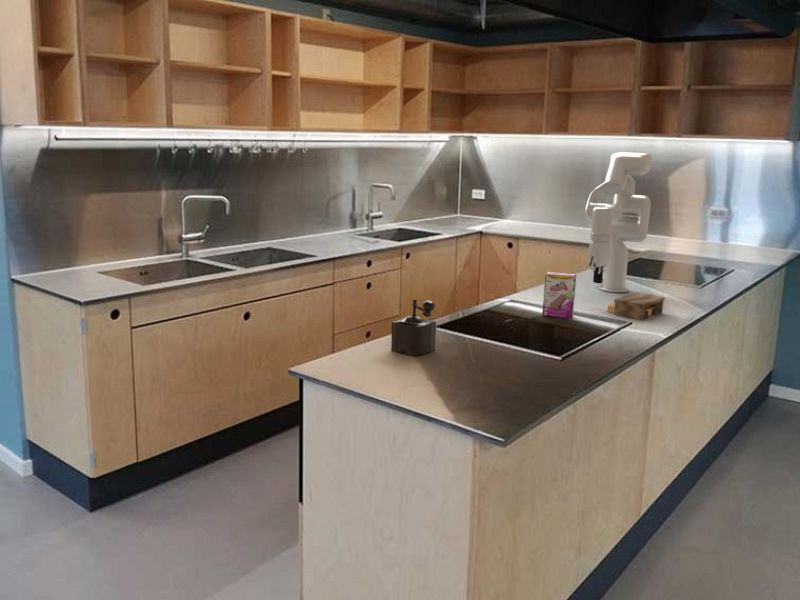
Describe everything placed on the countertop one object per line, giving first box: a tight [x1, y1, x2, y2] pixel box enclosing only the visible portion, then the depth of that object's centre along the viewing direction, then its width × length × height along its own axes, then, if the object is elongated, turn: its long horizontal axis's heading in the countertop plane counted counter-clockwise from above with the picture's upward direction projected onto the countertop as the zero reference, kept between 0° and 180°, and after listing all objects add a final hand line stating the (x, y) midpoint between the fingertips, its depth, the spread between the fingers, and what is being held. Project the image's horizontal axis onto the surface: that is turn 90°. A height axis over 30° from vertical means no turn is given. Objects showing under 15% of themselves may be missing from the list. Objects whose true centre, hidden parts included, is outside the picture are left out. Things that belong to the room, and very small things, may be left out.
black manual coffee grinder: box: [390, 298, 437, 357], centre depth 224 cm, size 16×11×18 cm
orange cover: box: [607, 302, 656, 317], centre depth 280 cm, size 14×12×3 cm
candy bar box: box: [542, 271, 577, 320], centre depth 271 cm, size 11×5×16 cm, turn 71°
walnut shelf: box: [613, 292, 666, 321], centre depth 277 cm, size 12×18×6 cm, turn 135°
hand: (597, 282), depth 290 cm, fingers closed
